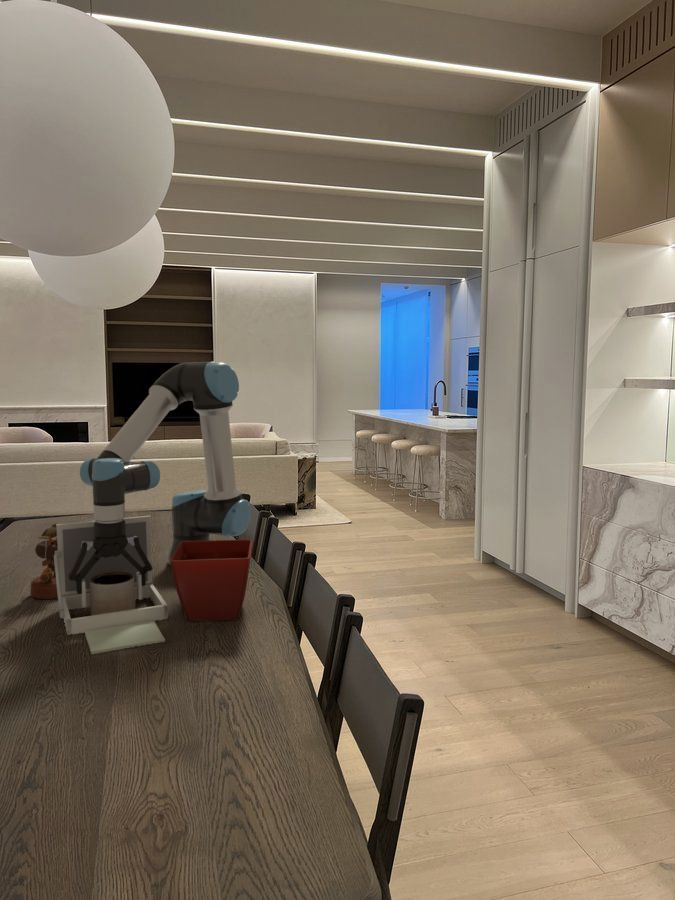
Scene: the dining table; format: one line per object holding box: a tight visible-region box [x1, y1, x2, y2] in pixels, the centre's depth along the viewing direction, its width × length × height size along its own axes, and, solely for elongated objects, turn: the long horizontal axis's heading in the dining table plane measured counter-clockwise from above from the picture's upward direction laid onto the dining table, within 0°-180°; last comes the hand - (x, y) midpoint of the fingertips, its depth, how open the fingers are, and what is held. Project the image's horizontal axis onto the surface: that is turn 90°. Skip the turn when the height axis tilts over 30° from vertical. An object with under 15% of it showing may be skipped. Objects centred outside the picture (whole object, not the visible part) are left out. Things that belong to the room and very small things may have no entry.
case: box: [54, 515, 169, 636], centre depth 172 cm, size 25×20×22 cm
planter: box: [90, 572, 136, 616], centre depth 173 cm, size 11×11×10 cm
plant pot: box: [170, 539, 253, 622], centre depth 174 cm, size 19×19×17 cm
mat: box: [84, 620, 166, 655], centre depth 158 cm, size 16×13×1 cm
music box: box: [30, 522, 58, 600], centre depth 189 cm, size 15×11×20 cm
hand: (112, 602), depth 173 cm, fingers open, 13 cm apart
